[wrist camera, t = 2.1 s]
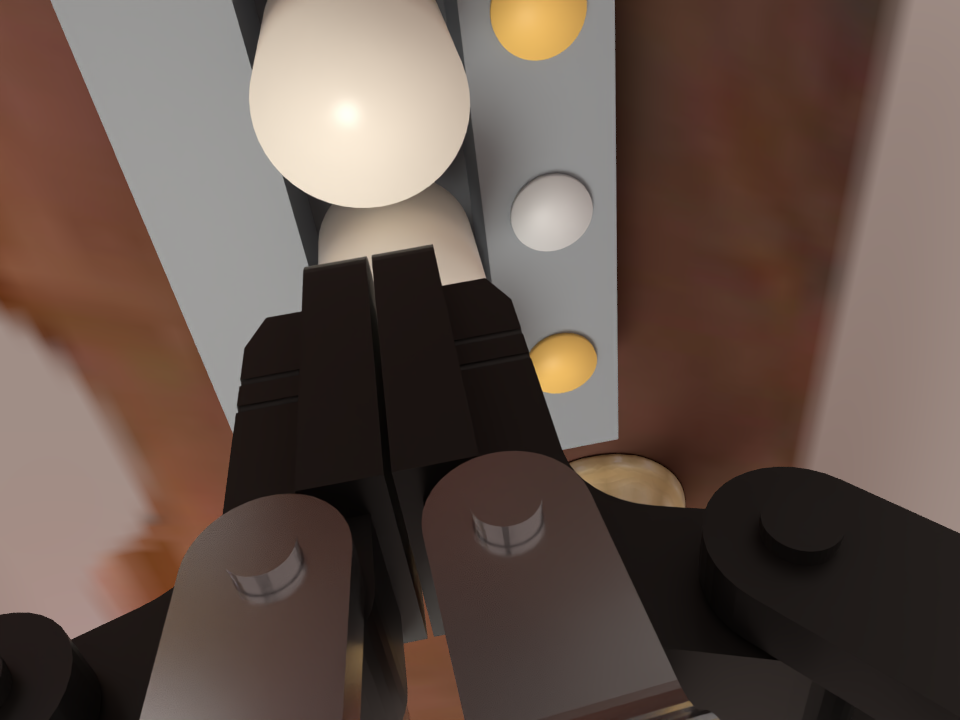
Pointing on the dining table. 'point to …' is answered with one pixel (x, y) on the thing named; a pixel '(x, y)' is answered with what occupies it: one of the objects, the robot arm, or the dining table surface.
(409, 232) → the button middle
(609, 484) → the hand bell
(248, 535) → the robot arm
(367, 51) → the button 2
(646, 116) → the dining table surface
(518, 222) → the console
